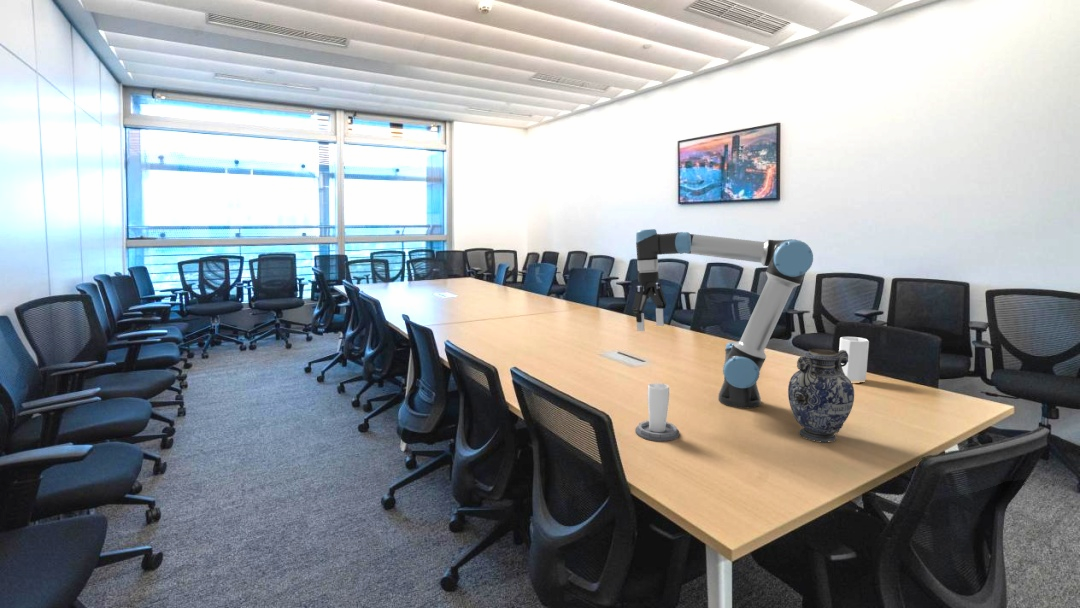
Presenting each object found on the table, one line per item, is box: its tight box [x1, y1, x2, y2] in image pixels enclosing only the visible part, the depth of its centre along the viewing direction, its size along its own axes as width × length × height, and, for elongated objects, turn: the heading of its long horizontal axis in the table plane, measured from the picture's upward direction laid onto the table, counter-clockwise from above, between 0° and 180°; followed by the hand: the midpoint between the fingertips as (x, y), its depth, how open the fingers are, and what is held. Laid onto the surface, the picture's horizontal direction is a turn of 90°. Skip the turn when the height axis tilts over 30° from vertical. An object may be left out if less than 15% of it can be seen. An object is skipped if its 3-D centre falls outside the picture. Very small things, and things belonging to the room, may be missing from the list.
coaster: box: [635, 420, 680, 442], centre depth 173 cm, size 14×14×2 cm
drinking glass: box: [647, 382, 670, 433], centre depth 173 cm, size 7×7×15 cm
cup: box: [838, 336, 870, 381], centre depth 232 cm, size 11×11×18 cm
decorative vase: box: [787, 348, 855, 443], centre depth 169 cm, size 21×19×28 cm
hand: (650, 328), depth 199 cm, fingers open, 13 cm apart
